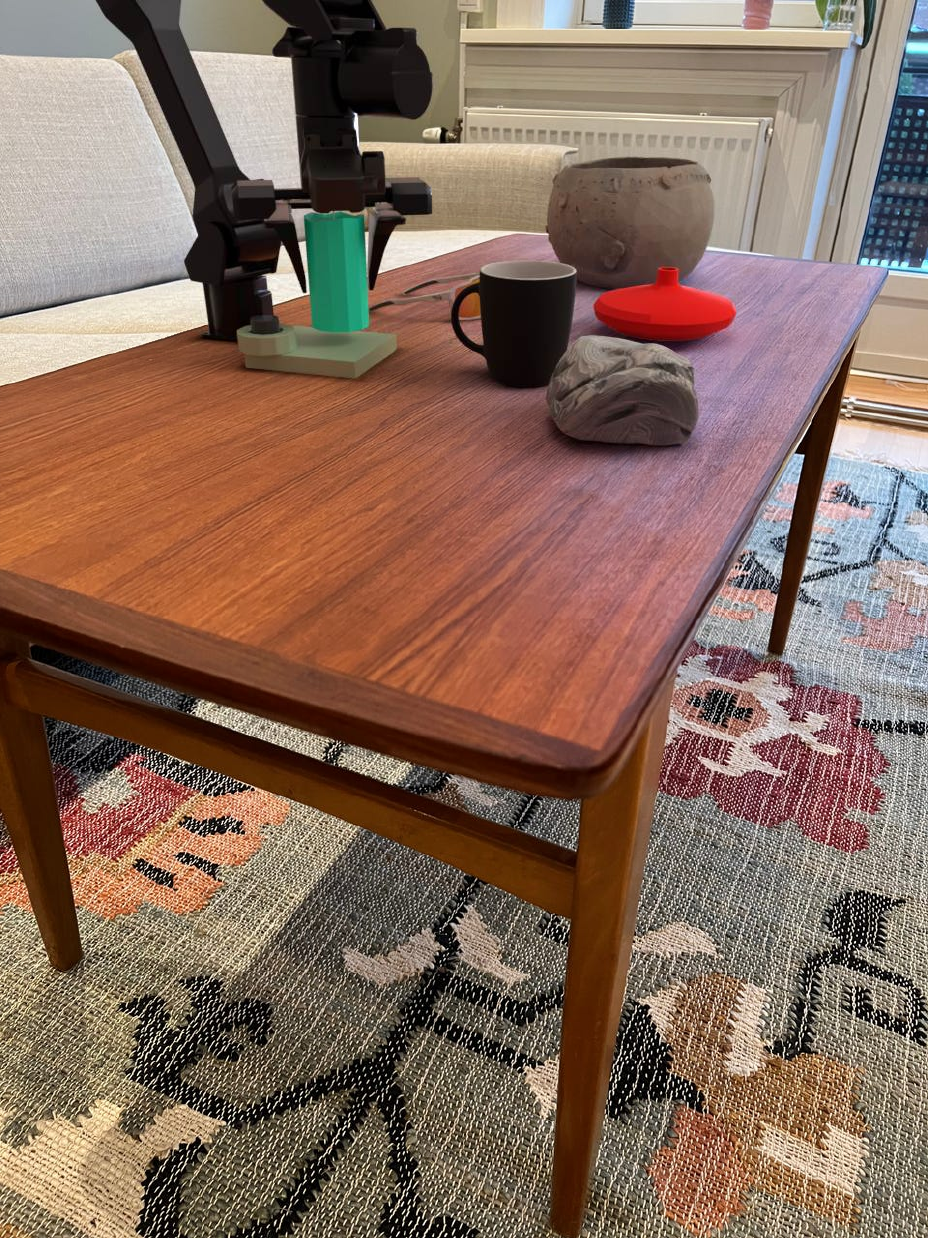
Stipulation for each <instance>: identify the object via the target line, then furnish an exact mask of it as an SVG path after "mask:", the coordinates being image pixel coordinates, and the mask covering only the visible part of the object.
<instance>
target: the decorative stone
mask: <svg viewBox="0 0 928 1238" xmlns="http://www.w3.org/2000/svg"><path fill="white" fill-rule="evenodd" d="M545 401H546V404H547V406H548V410H549V413H550V416H551V419H552V420H553V421H554V423H555V424H556V426H557V428H558V429H559V431H561V432H562V433H563V434H565V435H567V436H569V437H572V438H573V439H576V440H579V441H588V442H589V441H593V442H600V443H605V444H606V443H607V444H608V443H610V444H630V445H631V444H632V445H634V444H643V445H648V446H670V445H677V444H679V445H683V444H685V443H687V442H689V439H690V438H691V435H692V433H693V432H694V431H695V430H696V426H697V424H698V421H699V411H700V410H699V403H698V398H697V394H696V390H695V368H694V366H693V364H692V362H691V361H690V360H689V359H687V358H686V357H684V356H682V355H680V354H678V353H676V352H675V351H673V350H672V349H670V348H668V347H666V346H664V345H661V344H659V343H641V342H638V341H634V340H629V339H624V338H619V337H612V336H606V335H591V334H589V335H582V336H580V337H579V338H577V339H576V340H575V341H574V342H573V343H572V344H571V345H570V346H568V347H567V351H566V352H565V353H564V355H563V356H562V357H561V359H560V360H559V362H558V364H557V366H556V368H555V370H554V372H553V374H552V377H551V380H550V383H549V384H548V385H547V392H546V395H545Z"/></svg>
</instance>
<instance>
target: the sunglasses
mask: <svg viewBox="0 0 928 1238" xmlns="http://www.w3.org/2000/svg"><path fill="white" fill-rule="evenodd" d="M479 278H480V271H479V272H473V273H466V274H458V275H453V276H446V277H445V276H444V277H435V278H433V279H430V280H426V281H422V282H420V283H418V284H416V285H413V286H412V287H409V288H407V289H405V290H403V291H402V292H401V293H400V294H401V295H403V296H404V297H405V296H408V295H410V294H411V295H412V294H413V293H415V292H418V291H420V290H423V289H426V288H428V287H431V286H435V285H436V286H437V285H443V284H446V285H447V284H450V283H453V282H458V281H465V282H463V283H461V284H457V285H455V286H452V287H451V288H450V289H449V290H445V291H440V292H435V293H430V294H425V295H419V296H414V297H407V298H390V299H387V300H386V299H385V300H383V301H379V302H377V303H375V304H373V305H371V306H368V309H369V313H373V312H376V311H378V310H381V309H383V308H387V307H393V306H394V307H395V306H401V307H403V306H407V305H410V304H414V303H423V302H428V303H435V304H436V303H439V302H442V301H448V302H449V314H450V316H451V311H452V306H453V303H454V301H455V299H456V297H457V296H458V295H459V293H460V292H461V291H462V290H463V289H465V288H466V287H468V286H470V285H472V284H475V283H478V282H479ZM466 280H467V281H466ZM478 319H481V312H480V297H479V295H478V293H472V294H469V295H468V296H467V297H466V298H465V299H464V300H463V301H462V303H461V305H460V309H459V321H473V320H478Z"/></svg>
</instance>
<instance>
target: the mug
mask: <svg viewBox="0 0 928 1238" xmlns="http://www.w3.org/2000/svg"><path fill="white" fill-rule="evenodd" d="M479 272H480V278H479V282H478V283H475V284H472V285H470V286H468V287H466V288H465V289H463V290H462V291H461V292H460V293H459V295H458V296H457V297H456V299H455V301H454V303H453V306H452V311H451V315H450V321H451V322H450V323H451V327H452V330H453V333H454V334H455V336H456V339H458V341H459V342H460V343H461V344H462V345H463V346H464V347H465V348H467V349H468V350H470V351H472V352H474V353H476V354H479V355H480V356H481V357H483V358H484V359H485V361H486V366H487V370H488V372H489V375H490V376H491V378H492V380H494V381H495V382H497V383H499V384H501V385H505V386H508V387H515V388H539V387H544V386H548V385H549V383H550V380H551V377H552V374H553V372H554V370H555V368H556V366H557V364H558V362H559V360H560V359H561V357H562V356H563V355H564V353H565V352H566V351H567V350H568V348H569V343H570V342H569V341H570V336H571V331H572V326H573V325H572V324H573V316H574V309H575V302H576V291H577V281H578V280H577V271H576V269H575V268H574V267H572V266H569V265H566V264H562V263H560V262H557V261H556V262H555V261H548V260H528V259H521V260H520V259H519V260H518V259H517V260H505V261H504V260H502V261H497V262H491V263H488V264H487V263H486V264H484V265H482V266H481V267H480V269H479ZM472 293H478V295H479V297H480V312H481V318H480V325H481V335H482V342H483V344H478V343H476V342H474V341H473V340H471V339H470V338H469V337H468V336H467V334H466V333H465V332H464V331H463V328H462V325H461V323H460V320H459V309H460V305H461V303H462V301H463V300H464V299H465V298H466V297H467V296H468V295H469V294H472Z"/></svg>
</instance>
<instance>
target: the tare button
mask: <svg viewBox="0 0 928 1238" xmlns="http://www.w3.org/2000/svg"><path fill="white" fill-rule="evenodd" d="M250 320H251V329H252V334H259V335H268V334H275V333H280V324H281V323H280V317H279V316H277V315H275V314H274V315H259V316H254V317H252V318H251V319H250Z"/></svg>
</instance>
